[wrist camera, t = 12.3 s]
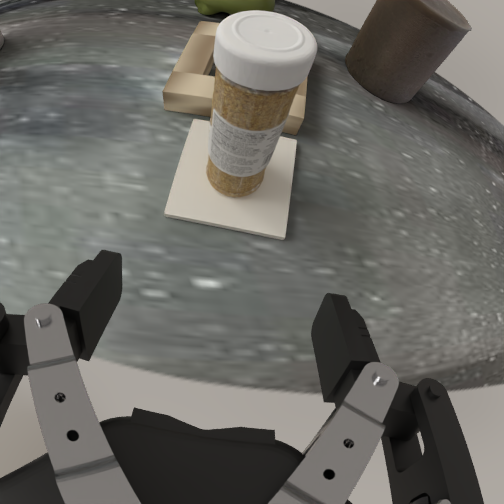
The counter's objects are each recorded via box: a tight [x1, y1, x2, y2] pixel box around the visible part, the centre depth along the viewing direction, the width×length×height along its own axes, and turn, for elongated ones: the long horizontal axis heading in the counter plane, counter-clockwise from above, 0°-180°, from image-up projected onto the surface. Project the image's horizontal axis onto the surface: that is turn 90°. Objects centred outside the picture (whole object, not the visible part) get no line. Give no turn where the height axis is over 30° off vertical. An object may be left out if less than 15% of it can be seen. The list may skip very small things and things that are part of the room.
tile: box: [164, 119, 297, 240], centre depth 24 cm, size 9×9×1 cm
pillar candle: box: [345, 0, 472, 104], centre depth 24 cm, size 10×10×15 cm
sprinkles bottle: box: [206, 10, 317, 198], centre depth 17 cm, size 5×5×14 cm
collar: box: [163, 21, 308, 135], centre depth 26 cm, size 12×12×2 cm
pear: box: [195, 0, 275, 15], centre depth 29 cm, size 6×5×10 cm
